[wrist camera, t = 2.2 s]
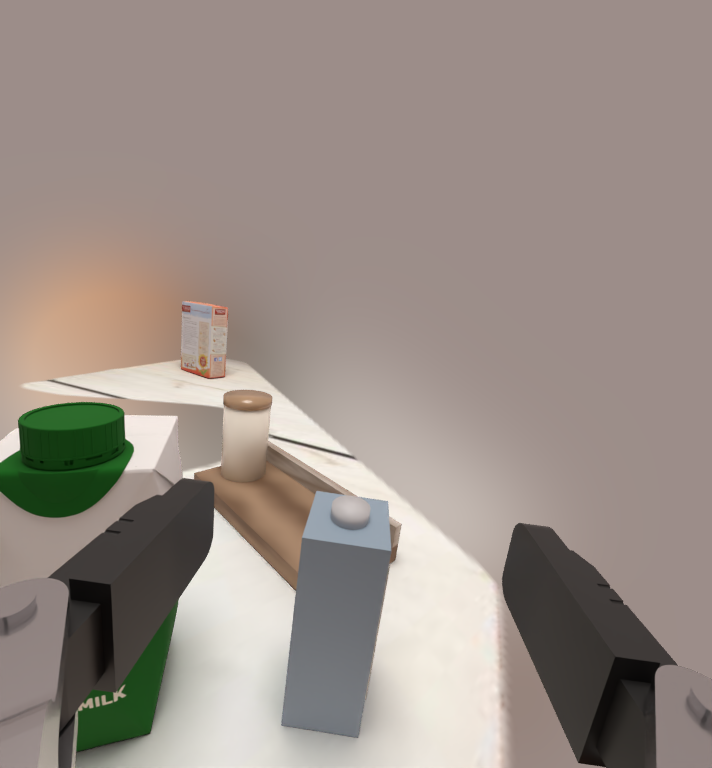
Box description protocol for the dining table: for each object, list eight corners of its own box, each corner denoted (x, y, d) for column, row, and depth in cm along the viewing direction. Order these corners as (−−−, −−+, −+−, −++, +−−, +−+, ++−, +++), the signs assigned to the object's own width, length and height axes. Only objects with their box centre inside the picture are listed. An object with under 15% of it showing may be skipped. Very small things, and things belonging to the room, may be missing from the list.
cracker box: (226, 377, 106) (229, 307, 101) (208, 379, 101) (211, 305, 96) (198, 367, 113) (199, 301, 108) (180, 369, 108) (181, 300, 103)
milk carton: (-29, 800, 18) (-93, 433, 13) (55, 636, 26) (34, 376, 22) (164, 747, 21) (167, 433, 16) (185, 616, 29) (190, 383, 24)
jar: (234, 487, 45) (239, 405, 42) (211, 468, 49) (214, 392, 46) (275, 474, 49) (281, 400, 47) (251, 457, 53) (256, 388, 51)
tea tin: (281, 725, 23) (303, 524, 19) (297, 650, 27) (317, 480, 24) (360, 738, 22) (396, 538, 19) (362, 660, 27) (391, 491, 24)
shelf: (320, 615, 31) (326, 572, 30) (193, 486, 47) (194, 456, 46) (395, 559, 39) (401, 524, 38) (264, 466, 55) (266, 439, 54)
